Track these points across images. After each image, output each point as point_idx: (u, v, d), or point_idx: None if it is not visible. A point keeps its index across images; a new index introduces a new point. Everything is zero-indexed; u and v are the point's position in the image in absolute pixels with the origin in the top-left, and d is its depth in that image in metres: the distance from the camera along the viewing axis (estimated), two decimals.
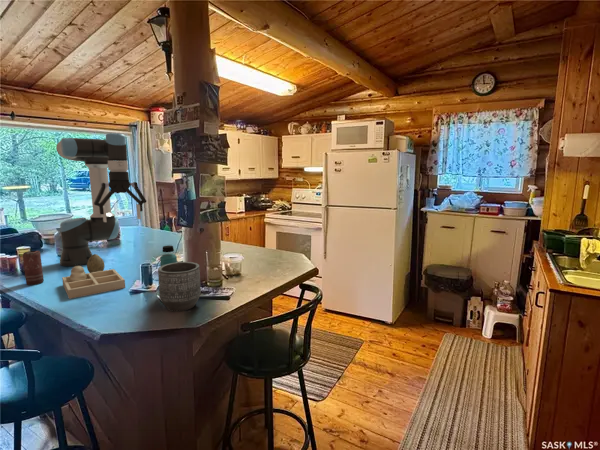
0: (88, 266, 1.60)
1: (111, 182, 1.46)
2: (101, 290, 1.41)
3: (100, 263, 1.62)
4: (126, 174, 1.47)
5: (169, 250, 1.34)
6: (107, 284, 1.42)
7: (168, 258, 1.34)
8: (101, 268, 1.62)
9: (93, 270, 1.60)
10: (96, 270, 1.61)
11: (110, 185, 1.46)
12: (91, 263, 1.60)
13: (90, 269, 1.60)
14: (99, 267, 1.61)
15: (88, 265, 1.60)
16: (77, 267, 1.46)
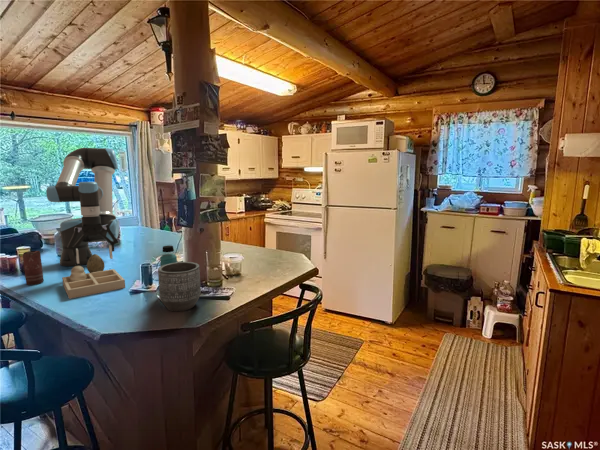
0: (88, 266, 1.60)
1: (83, 226, 1.57)
2: (101, 290, 1.41)
3: (100, 263, 1.62)
4: (98, 218, 1.59)
5: (169, 250, 1.34)
6: (107, 284, 1.42)
7: (168, 258, 1.34)
8: (101, 268, 1.62)
9: (93, 270, 1.60)
10: (96, 270, 1.61)
11: (83, 229, 1.57)
12: (91, 263, 1.60)
13: (90, 269, 1.60)
14: (99, 267, 1.61)
15: (88, 265, 1.60)
16: (77, 267, 1.46)
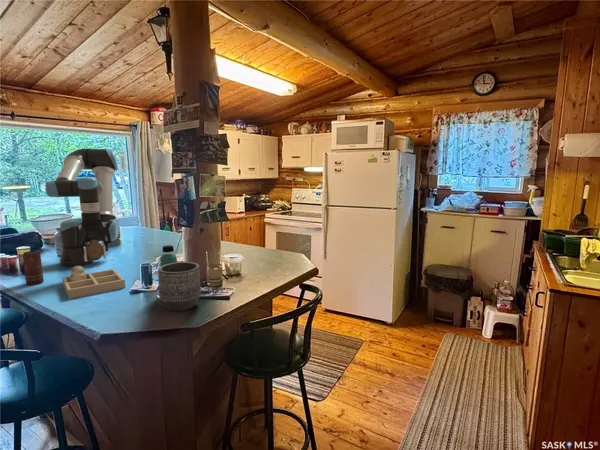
0: (87, 251, 1.60)
1: (83, 222, 1.57)
2: (101, 290, 1.41)
3: (99, 249, 1.61)
4: (97, 214, 1.59)
5: (169, 250, 1.34)
6: (107, 284, 1.42)
7: (168, 258, 1.34)
8: (100, 253, 1.62)
9: (92, 255, 1.60)
10: (95, 256, 1.60)
11: (83, 225, 1.57)
12: (90, 248, 1.60)
13: (89, 254, 1.60)
14: (98, 253, 1.61)
15: (87, 250, 1.60)
16: (77, 267, 1.46)
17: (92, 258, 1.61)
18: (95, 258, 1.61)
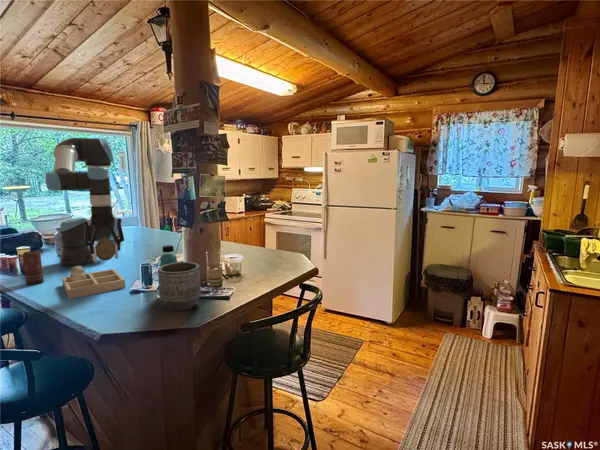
0: (97, 250, 1.41)
1: (93, 217, 1.40)
2: (101, 290, 1.41)
3: (110, 247, 1.43)
4: (109, 208, 1.41)
5: (169, 250, 1.34)
6: (107, 284, 1.42)
7: (168, 258, 1.34)
8: (111, 252, 1.43)
9: (102, 255, 1.42)
10: (106, 255, 1.42)
11: (92, 221, 1.40)
12: (100, 247, 1.41)
13: (99, 254, 1.41)
14: (109, 252, 1.43)
15: (97, 249, 1.41)
16: (77, 267, 1.46)
17: (103, 258, 1.42)
18: (106, 258, 1.43)
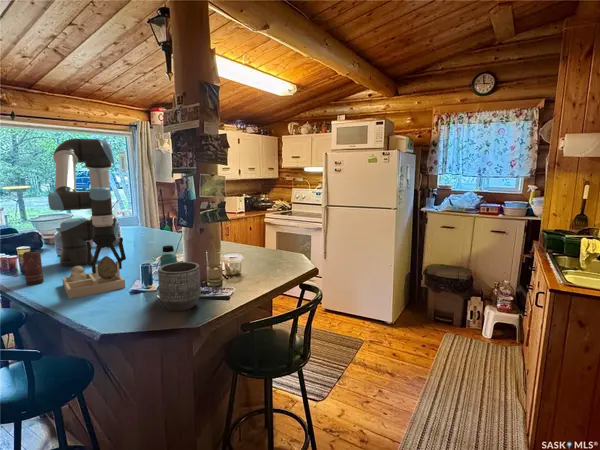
0: (99, 270, 1.43)
1: (95, 237, 1.41)
2: (101, 290, 1.41)
3: (112, 266, 1.45)
4: (111, 228, 1.43)
5: (169, 250, 1.34)
6: (107, 284, 1.42)
7: (168, 258, 1.34)
8: (113, 271, 1.45)
9: (104, 274, 1.43)
10: (108, 274, 1.44)
11: (94, 241, 1.41)
12: (102, 266, 1.43)
13: (101, 273, 1.43)
14: (111, 271, 1.44)
15: (99, 268, 1.43)
16: (77, 267, 1.46)
17: (104, 277, 1.44)
18: (107, 277, 1.44)
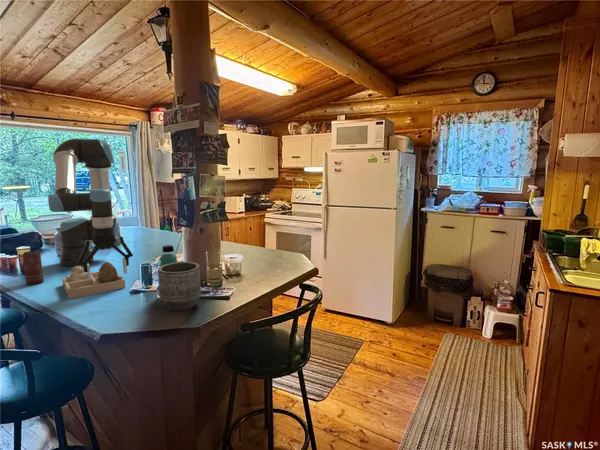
0: (99, 275, 1.43)
1: (95, 239, 1.41)
2: (101, 290, 1.41)
3: (113, 272, 1.45)
4: (111, 230, 1.43)
5: (169, 250, 1.34)
6: (107, 284, 1.42)
7: (168, 258, 1.34)
8: (114, 277, 1.45)
9: (105, 280, 1.43)
10: (108, 280, 1.44)
11: (94, 242, 1.41)
12: (103, 272, 1.43)
13: (102, 279, 1.43)
14: (111, 277, 1.44)
15: (99, 274, 1.43)
16: (77, 267, 1.46)
17: None
18: None
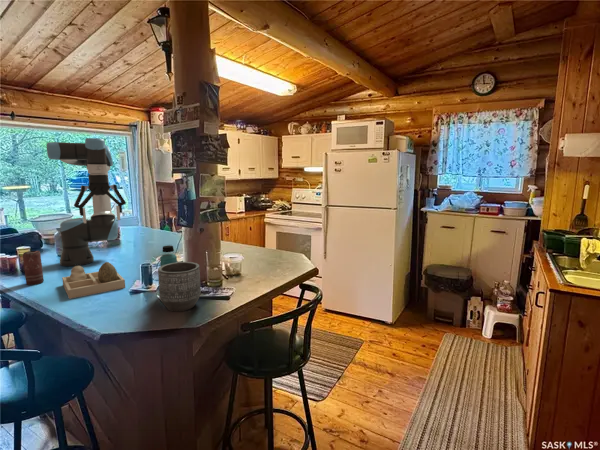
0: (99, 276, 1.43)
1: (90, 185, 1.52)
2: (101, 290, 1.41)
3: (113, 272, 1.45)
4: (105, 177, 1.53)
5: (169, 250, 1.34)
6: (107, 284, 1.42)
7: (168, 258, 1.34)
8: (113, 277, 1.45)
9: (105, 280, 1.43)
10: (108, 280, 1.44)
11: (90, 188, 1.51)
12: (103, 272, 1.43)
13: (102, 279, 1.43)
14: (111, 277, 1.44)
15: (99, 274, 1.43)
16: (77, 267, 1.46)
17: None
18: None
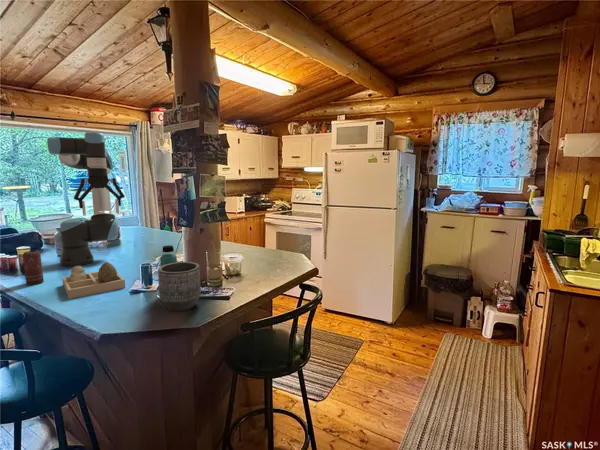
0: (99, 276, 1.43)
1: (90, 178, 1.55)
2: (101, 290, 1.41)
3: (113, 272, 1.45)
4: (104, 170, 1.56)
5: (169, 250, 1.34)
6: (107, 284, 1.42)
7: (168, 258, 1.34)
8: (113, 277, 1.45)
9: (105, 280, 1.43)
10: (108, 280, 1.44)
11: (89, 181, 1.55)
12: (103, 272, 1.43)
13: (102, 279, 1.43)
14: (111, 277, 1.44)
15: (99, 274, 1.43)
16: (77, 267, 1.46)
17: None
18: None
